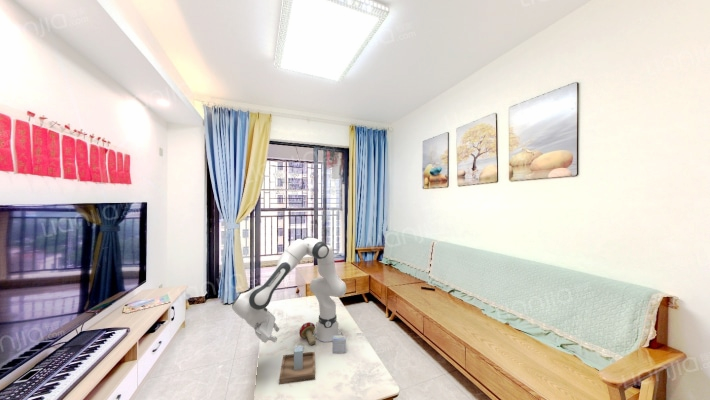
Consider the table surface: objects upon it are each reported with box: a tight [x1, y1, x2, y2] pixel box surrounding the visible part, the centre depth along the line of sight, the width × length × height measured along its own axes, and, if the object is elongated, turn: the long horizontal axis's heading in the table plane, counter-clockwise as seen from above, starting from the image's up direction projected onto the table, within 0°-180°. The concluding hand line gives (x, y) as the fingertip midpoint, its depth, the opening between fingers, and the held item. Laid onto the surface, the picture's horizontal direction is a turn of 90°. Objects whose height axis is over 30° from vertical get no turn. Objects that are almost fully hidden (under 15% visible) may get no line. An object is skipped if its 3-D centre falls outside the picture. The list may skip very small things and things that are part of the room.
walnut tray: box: [278, 351, 316, 385], centre depth 128 cm, size 18×18×3 cm
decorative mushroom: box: [298, 322, 317, 346], centre depth 154 cm, size 11×11×15 cm
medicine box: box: [332, 334, 347, 354], centre depth 144 cm, size 8×4×9 cm, turn 92°
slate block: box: [293, 345, 304, 370], centre depth 128 cm, size 4×4×10 cm
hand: (277, 335), depth 126 cm, fingers open, 8 cm apart
